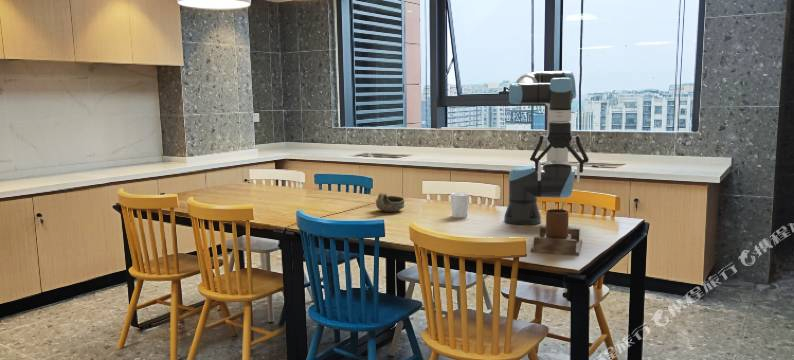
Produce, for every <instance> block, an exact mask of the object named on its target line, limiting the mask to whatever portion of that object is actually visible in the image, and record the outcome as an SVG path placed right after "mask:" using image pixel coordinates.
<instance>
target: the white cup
mask: <svg viewBox="0 0 794 360" xmlns="http://www.w3.org/2000/svg"><path fill="white" fill-rule="evenodd" d="M469 196H470V193H467V192H452V193H450V205H451V217H452V218H458V219H460V218H462V219H463V218H468V211H469V199H470V197H469Z"/></svg>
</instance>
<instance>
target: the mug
mask: <svg viewBox="0 0 794 360" xmlns="http://www.w3.org/2000/svg"><path fill="white" fill-rule="evenodd" d="M569 218H570V217H569V211H568V210H567V209H566V210H565V209H563V208H555V209H554V208H553V209H547V210H546V214H545V227H546V237H548V238H558V239H566V238H567V237H568V228H569Z"/></svg>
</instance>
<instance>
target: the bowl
mask: <svg viewBox="0 0 794 360" xmlns="http://www.w3.org/2000/svg"><path fill="white" fill-rule="evenodd" d="M374 200H375V202H376V203H375V206H376V208H377V209H378V210H380V211H383V212H387V213H394V212H397V211H399V210H402V209H404V208H405V198H404V197H401V196H399V195H387V194H386V193H385V192H379V194H378V196H377V197H376V198H375V199H374Z"/></svg>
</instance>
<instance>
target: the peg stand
mask: <svg viewBox="0 0 794 360" xmlns="http://www.w3.org/2000/svg"><path fill="white" fill-rule="evenodd" d="M580 229H581V228H576V227H575V228H572V227H568V237H567V238H566V239H558V238H548V237H546V226H539V236H534V237H533V244H532V246H531V248H530V252H531V253H540V254H556V255H569V256H580V251H581V247H582V244H583V239H581V238H580Z"/></svg>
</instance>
